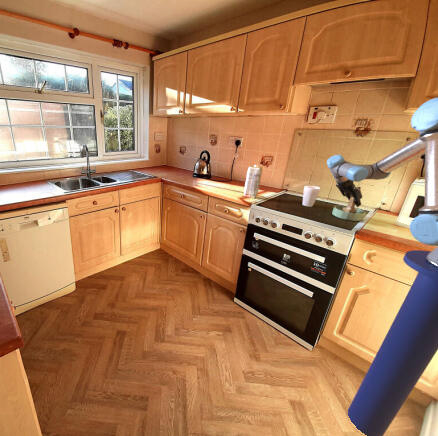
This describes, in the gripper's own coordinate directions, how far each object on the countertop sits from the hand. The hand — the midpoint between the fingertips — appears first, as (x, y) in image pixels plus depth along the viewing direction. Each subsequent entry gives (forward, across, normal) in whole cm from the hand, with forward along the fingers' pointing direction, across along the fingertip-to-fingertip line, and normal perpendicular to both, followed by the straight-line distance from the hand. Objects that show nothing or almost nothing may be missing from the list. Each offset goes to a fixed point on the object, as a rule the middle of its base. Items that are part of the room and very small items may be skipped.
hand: (356, 204), depth 148 cm
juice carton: (-21, -50, -32) cm, 63 cm away
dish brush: (+1, 0, -6) cm, 6 cm away
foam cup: (-1, -24, -12) cm, 27 cm away
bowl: (+3, 0, -8) cm, 9 cm away
